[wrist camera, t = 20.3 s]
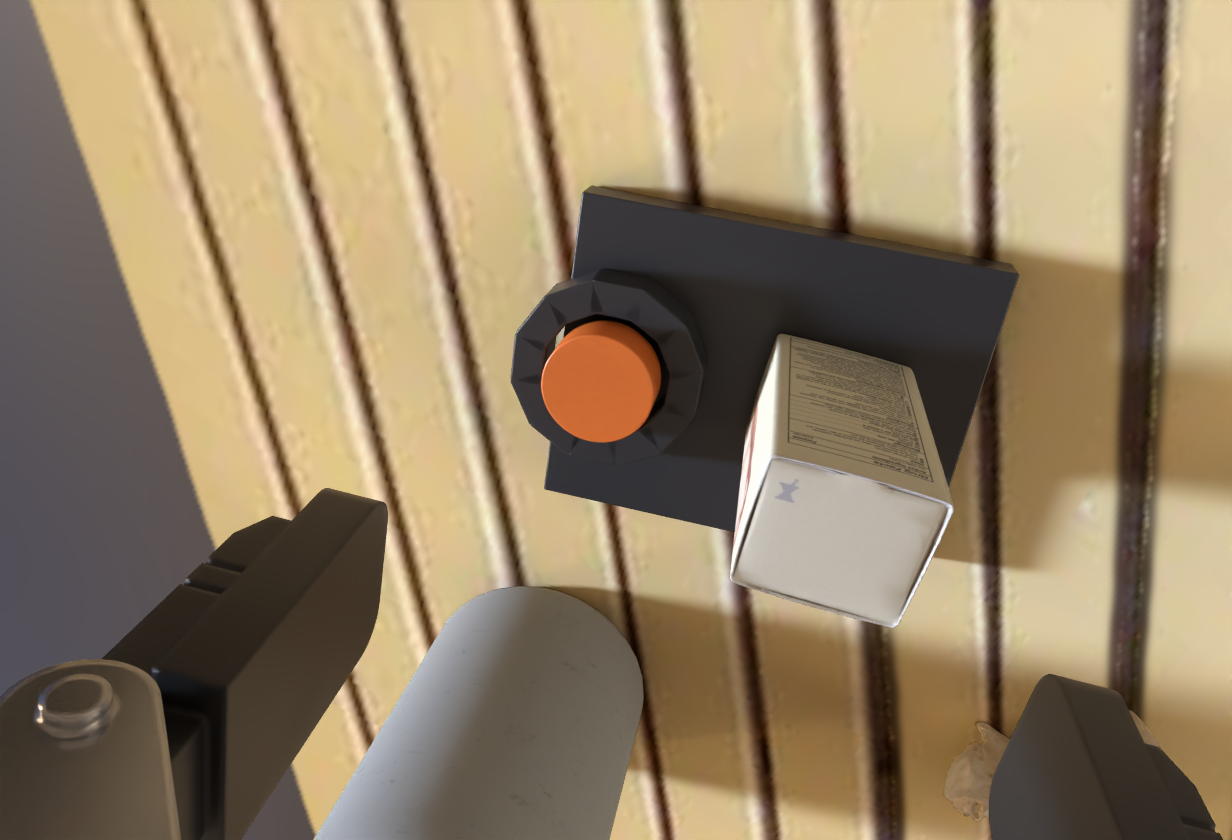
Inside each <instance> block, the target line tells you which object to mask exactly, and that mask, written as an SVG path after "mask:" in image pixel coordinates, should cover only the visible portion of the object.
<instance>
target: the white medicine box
mask: <svg viewBox="0 0 1232 840" xmlns="http://www.w3.org/2000/svg"><path fill="white" fill-rule="evenodd" d="M953 512H954V505H953V502H952V499H951V495H950V492H949V488H948V485H947V482H946V479H945V475H944V472H943V468H942V465H941V462H940V459H939V456H938V452H937V449H936V446H935V442H934V438H933V435H932V432H931V429H930V426H929V423H928V420H927V416H926V413H925V410H924V406H923V403H922V400H921V396H920V393H919V390H918V387H917V383H916V380H915V376H914V373H913V371H912V369H911V368H909V367H907V366H903V365H900V364H896V363H893V362H889V361H886V360H883V359H880V358H876V357H872V356H869V355H865V354H862V353H858V352H854V351H850V350H847V349H843V348H839V347H835V346H832V345H828V344H823V343H820V342H816V341H812V340H808V339H803V338H799V337H795V336H791V335H786V334H779V335H778V336H777V338H776V341H775V344H774V346H773V349H772V352H771V354H770V357H769V360H768V363H767V366H766V368H765V371H764V374H763V377H762V380H761V383H760V386H759V389H758V392H757V395H756V398H755V401H754V405H753V408H752V412H751V415H750V419H749V422H748V426H747V430H746V436H745V445H744V454H743V463H742V473H741V481H740V490H739V499H738V508H737V517H736V526H735V536H734V544H733V554H732V563H731V573H730V579H731V581H732V582H734V583H736V584H739V585H742V586H745V587H748V588H751V589H754V590H758V591H761V592H764V593H767V594H770V595H774V596H776V597H780V598H783V599H787V600H790V601H793V602H796V603H800V604H803V605H806V606H810V607H814V608H818V609H821V610H825V611H828V612H832V613H835V614H838V615H843V616H846V617H850V618H854V619H857V620H862V621H866V622H871V623H875V624H879V625H884V626H887V627H891V628H895V627H896V626H897V625H898V624H899V622H900V621H901V618H902V616H903V614H904V612H905V610H906V608H907V606H908V605H909V603H910V601H911V599H912V597H913V595H914V593H915V591H916V589H917V587H918V585H919V583H920V581H921V579H922V577H923V575H924V573H925V571H926V570H927V567H928V565H929V563H930V561H931V559H932V557H933V555H934V553H935V551H936V548H937V546H938V544H939V543H940V541H941V538H942V536H943V534H944V531H945V529H946V527H947V525H948V522H949V520H950V518H951V516H952V514H953Z"/></svg>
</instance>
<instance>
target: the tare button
mask: <svg viewBox="0 0 1232 840" xmlns="http://www.w3.org/2000/svg"><path fill="white" fill-rule="evenodd" d="M660 385H661V368H660V363H659V360H658V357H657V355H656V353H655V351H654V349H653V347H652V346H651V344H650V343H649V342H648V341H647V340H646V339H645V338H644V337H643V336H642V335H641V334H640V333H638V332H637V331H636V330H634V329H632V328H631V327H629V326H627V325H624V324H622V323H618V322H614V321H606V320H599V321H592V322H588V323H585V324H582V325H580V326H578V327H576V328H575V329H573V330H572V331H571V332H569V333H568V334H567V335H566V336H565V337H564V338H563V340H562V341H561V342H560V343H559V345H558V346H557V347H556V349H555V350H554V351H553V353H552V354H551V355H550V357H549V358H548V360H547V362H546V364H545V366H544V369H543V373H542V379H541V388H542V395H543V399H544V402H545V405H546V407H547V409H548V411H549V413H550V414H551V416H552V417H553V419H554V420H555V421H556V422H557V423H558V424H559V425H560V426H561V427H562V428H563V429H565V430H566V431H567V432H569V433H571V434H572V435H574V436H576V437H578V438H581V439H584V440H587V441H592V442H612V441H617V440H620V439H623V438H625V437H627V436H629V435H631V434H633V433H634V432H635V431H637V430H638V429H639V428H640V427H641V426H642V425H643V424H644V422H645V421H646V420H647V418H648V416H649V414H650V412H651V410H652V407H653V405H654V402H655V400H656V397H657V395H658V393H659V389H660Z"/></svg>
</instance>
